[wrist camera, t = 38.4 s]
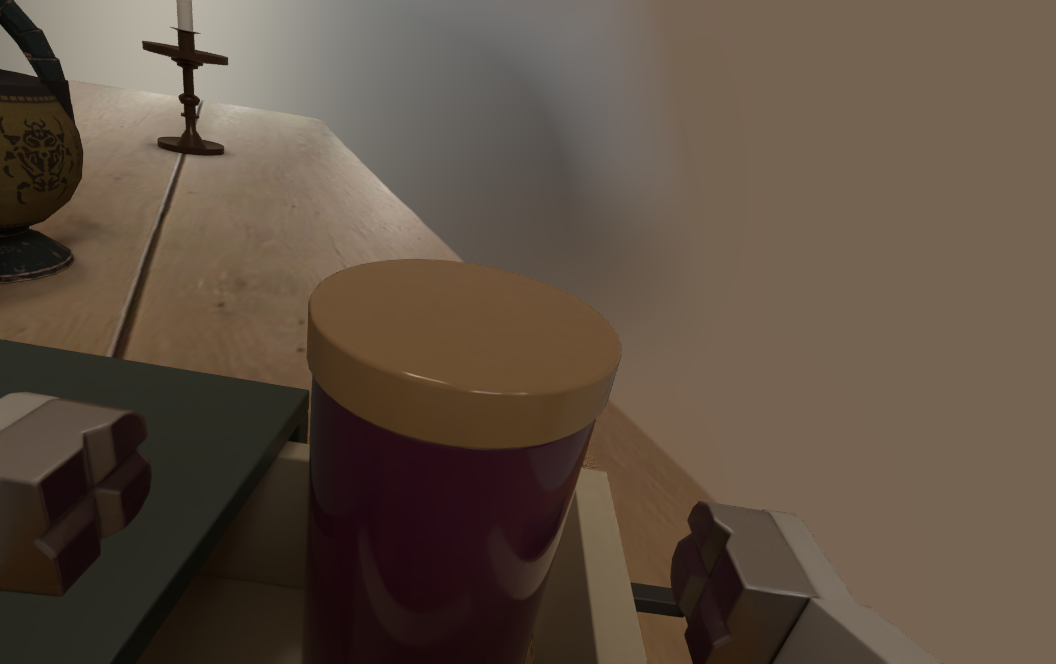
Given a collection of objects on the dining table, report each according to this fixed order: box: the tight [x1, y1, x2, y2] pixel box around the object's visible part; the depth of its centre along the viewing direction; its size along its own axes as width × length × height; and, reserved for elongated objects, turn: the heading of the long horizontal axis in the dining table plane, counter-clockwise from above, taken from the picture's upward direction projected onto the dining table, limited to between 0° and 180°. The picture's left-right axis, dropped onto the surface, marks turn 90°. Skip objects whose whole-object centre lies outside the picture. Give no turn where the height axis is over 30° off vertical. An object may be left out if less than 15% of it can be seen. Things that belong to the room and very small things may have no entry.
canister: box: [301, 259, 621, 664], centre depth 12 cm, size 5×5×13 cm
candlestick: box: [142, 0, 228, 155], centre depth 79 cm, size 11×11×35 cm
